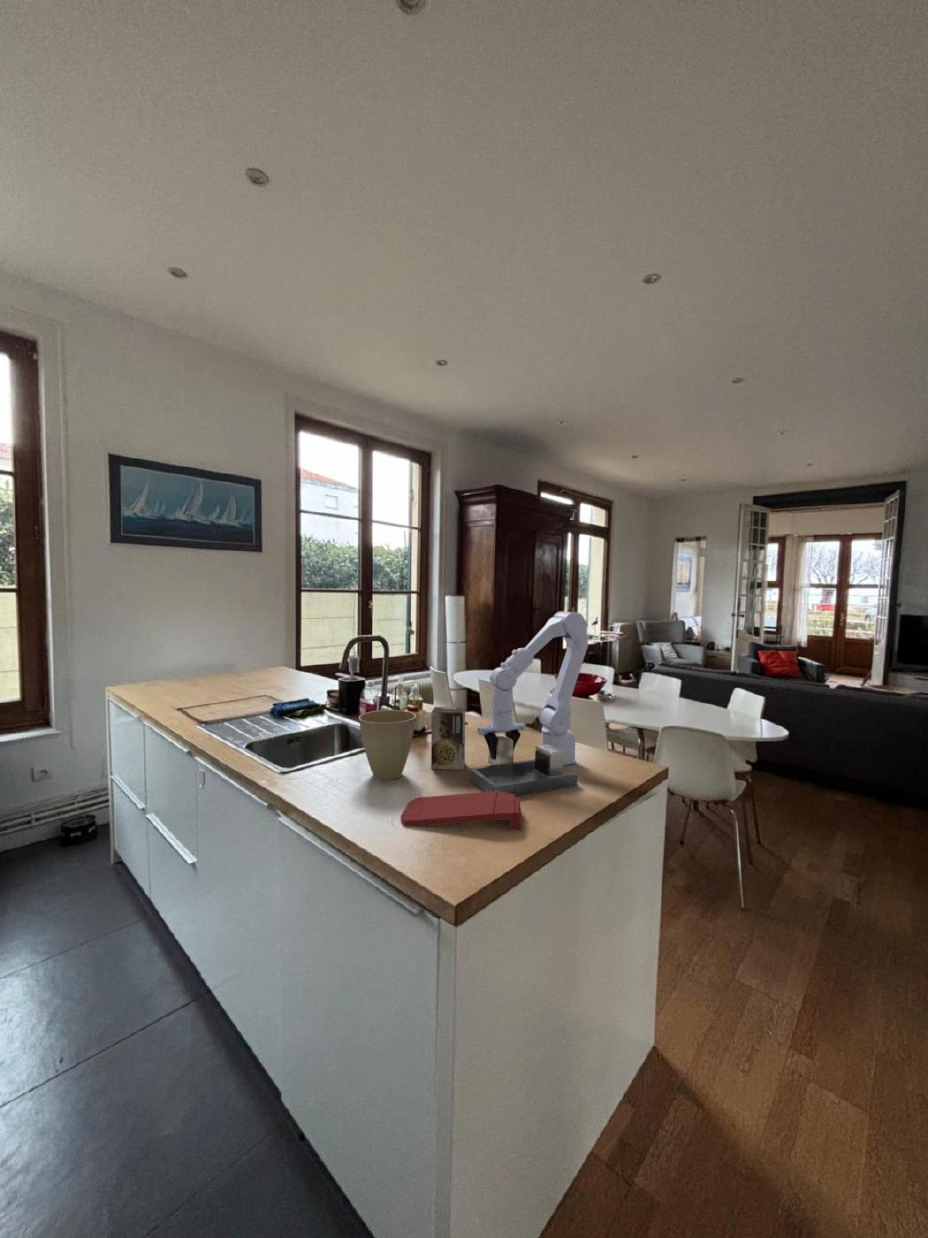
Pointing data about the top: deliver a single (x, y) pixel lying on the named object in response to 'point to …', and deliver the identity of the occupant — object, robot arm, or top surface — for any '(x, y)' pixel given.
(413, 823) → the red bent plate
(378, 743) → the plant pot
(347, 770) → the top surface
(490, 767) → the tray
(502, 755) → the finger block
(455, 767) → the food box
